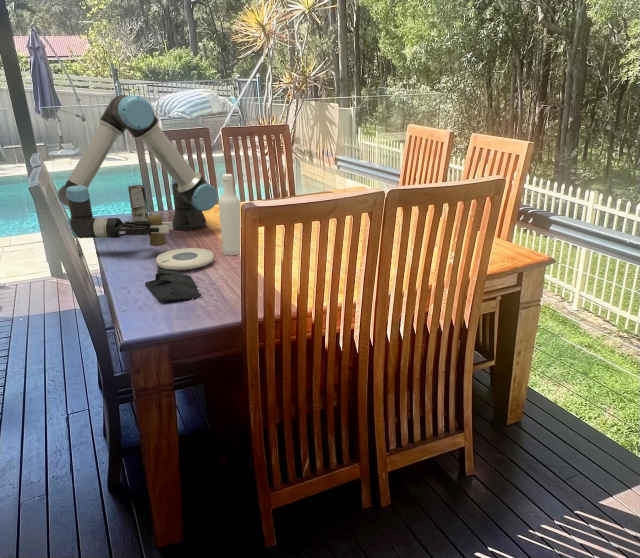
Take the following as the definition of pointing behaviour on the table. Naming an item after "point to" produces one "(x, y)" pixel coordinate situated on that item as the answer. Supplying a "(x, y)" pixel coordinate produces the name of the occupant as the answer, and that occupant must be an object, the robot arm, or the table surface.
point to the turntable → (184, 258)
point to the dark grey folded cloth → (173, 286)
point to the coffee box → (138, 203)
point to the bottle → (229, 218)
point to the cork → (156, 238)
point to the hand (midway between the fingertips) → (170, 227)
